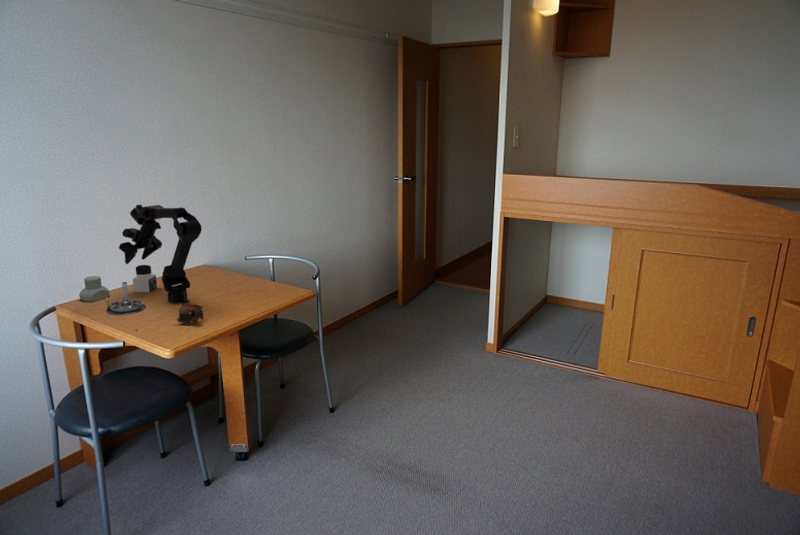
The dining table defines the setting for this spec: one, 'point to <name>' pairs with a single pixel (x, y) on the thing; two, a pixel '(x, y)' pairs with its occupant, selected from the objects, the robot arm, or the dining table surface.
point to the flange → (121, 313)
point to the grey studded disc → (125, 302)
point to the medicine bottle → (144, 279)
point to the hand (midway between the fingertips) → (134, 261)
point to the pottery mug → (186, 317)
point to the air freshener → (93, 290)
